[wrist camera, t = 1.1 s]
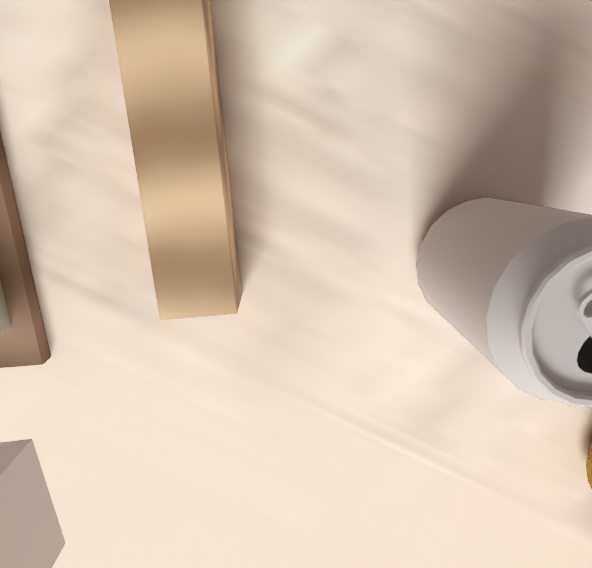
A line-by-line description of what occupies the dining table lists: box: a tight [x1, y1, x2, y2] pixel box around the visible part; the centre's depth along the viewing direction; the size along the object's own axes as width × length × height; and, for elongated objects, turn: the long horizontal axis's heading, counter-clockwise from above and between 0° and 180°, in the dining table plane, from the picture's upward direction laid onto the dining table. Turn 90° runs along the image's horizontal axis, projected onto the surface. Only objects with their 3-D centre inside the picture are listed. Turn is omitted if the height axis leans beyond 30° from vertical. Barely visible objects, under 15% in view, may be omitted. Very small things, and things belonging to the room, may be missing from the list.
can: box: [416, 197, 592, 407], centre depth 22 cm, size 8×8×12 cm
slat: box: [109, 0, 242, 320], centre depth 24 cm, size 18×4×4 cm, turn 4°
